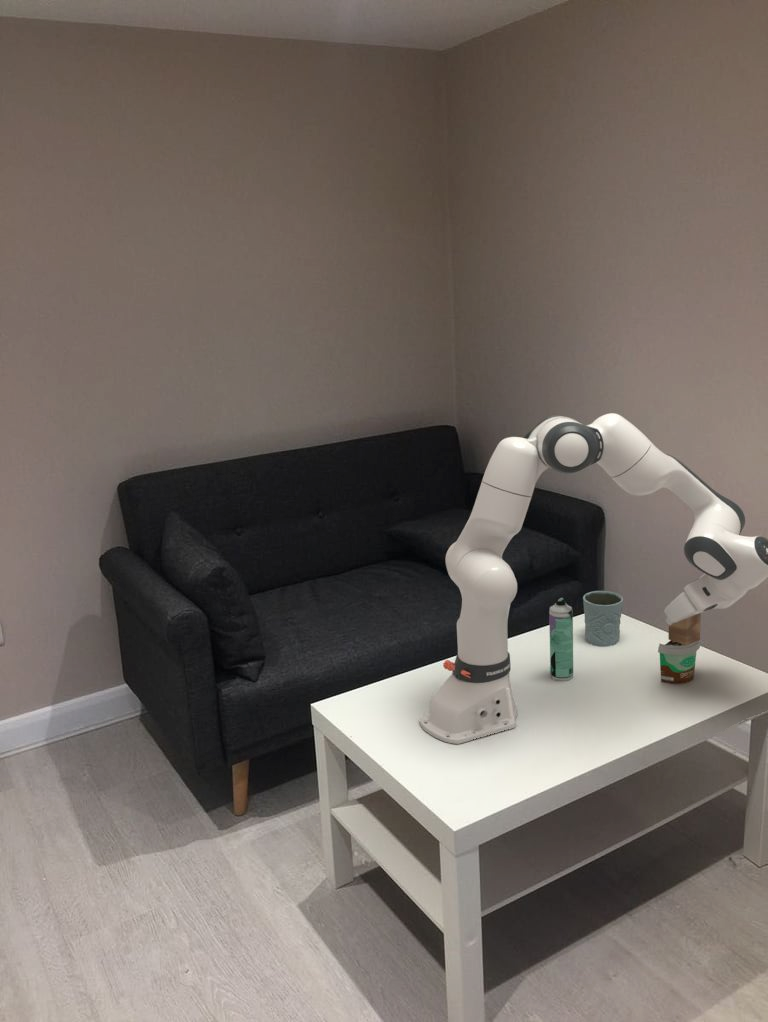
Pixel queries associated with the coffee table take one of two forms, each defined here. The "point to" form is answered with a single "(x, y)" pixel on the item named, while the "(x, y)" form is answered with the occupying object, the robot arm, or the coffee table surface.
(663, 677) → the ice cream tub
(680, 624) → the walnut block
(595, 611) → the plant pot
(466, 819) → the coffee table surface
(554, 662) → the spray can
